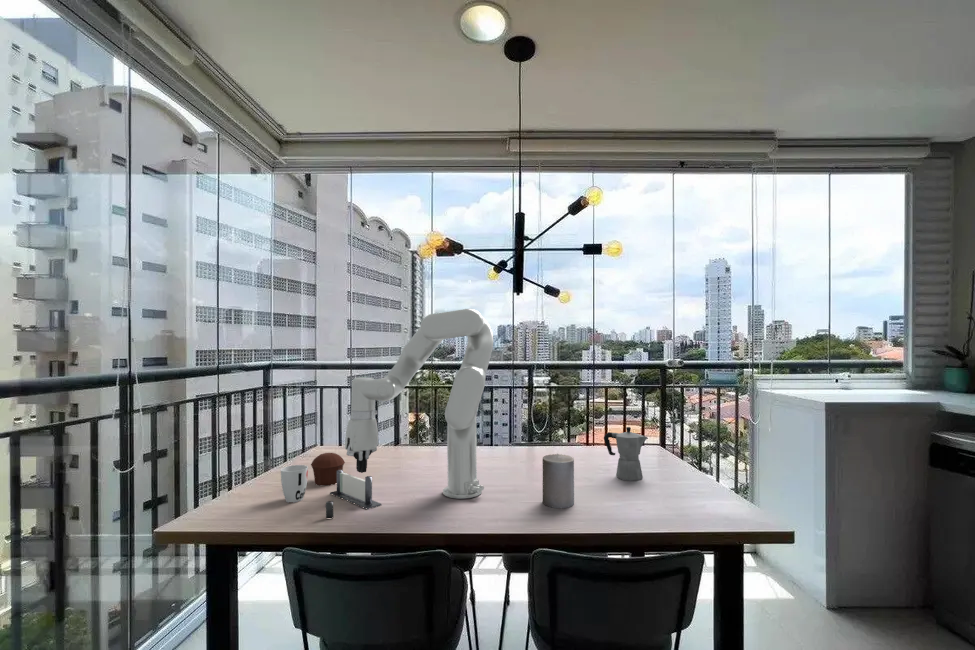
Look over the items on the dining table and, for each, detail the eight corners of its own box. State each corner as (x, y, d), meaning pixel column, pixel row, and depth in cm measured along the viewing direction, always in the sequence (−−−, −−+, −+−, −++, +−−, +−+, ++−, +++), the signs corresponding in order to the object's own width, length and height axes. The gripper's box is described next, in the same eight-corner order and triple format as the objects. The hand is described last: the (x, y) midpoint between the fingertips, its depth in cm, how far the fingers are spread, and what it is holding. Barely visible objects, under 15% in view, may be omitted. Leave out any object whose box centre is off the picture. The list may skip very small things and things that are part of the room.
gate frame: (381, 505, 149) (381, 477, 149) (329, 520, 137) (329, 490, 137) (343, 490, 164) (343, 464, 164) (294, 503, 152) (294, 475, 152)
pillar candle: (537, 499, 152) (536, 451, 152) (564, 495, 156) (564, 448, 156) (552, 510, 143) (551, 459, 143) (581, 506, 147) (580, 455, 147)
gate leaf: (368, 500, 151) (368, 480, 151) (364, 501, 150) (364, 481, 150) (343, 490, 160) (343, 472, 161) (339, 491, 159) (339, 473, 160)
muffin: (304, 485, 170) (304, 456, 170) (322, 476, 181) (322, 449, 181) (334, 487, 167) (334, 458, 168) (351, 478, 178) (351, 451, 178)
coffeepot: (649, 475, 178) (648, 425, 178) (647, 482, 169) (646, 430, 169) (606, 471, 184) (605, 423, 184) (602, 478, 175) (601, 427, 175)
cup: (298, 505, 150) (298, 472, 150) (274, 503, 152) (275, 471, 152) (313, 496, 158) (313, 465, 158) (290, 495, 160) (290, 464, 160)
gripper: (375, 411, 169) (374, 465, 168) (336, 416, 158) (334, 473, 157) (388, 414, 163) (387, 469, 163) (348, 419, 153) (347, 478, 152)
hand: (361, 471), depth 160 cm, fingers closed
